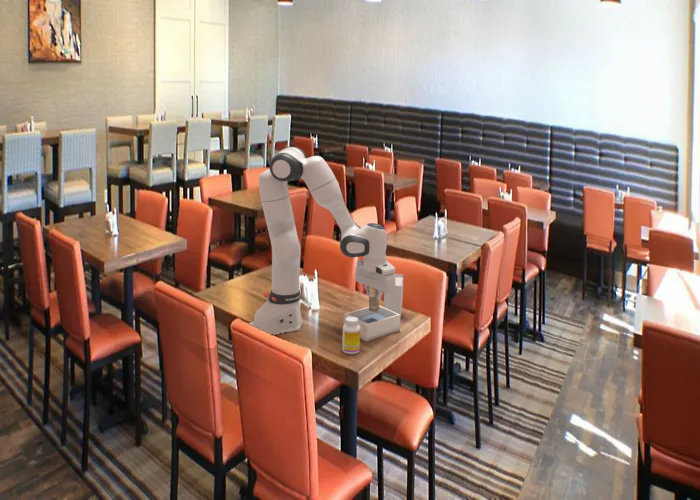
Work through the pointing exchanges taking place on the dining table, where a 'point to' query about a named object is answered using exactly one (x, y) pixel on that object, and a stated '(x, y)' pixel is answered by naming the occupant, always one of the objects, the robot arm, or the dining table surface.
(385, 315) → the socket box
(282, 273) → the robot arm
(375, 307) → the peg
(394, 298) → the milk carton
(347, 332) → the supplement bottle
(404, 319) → the dining table surface
